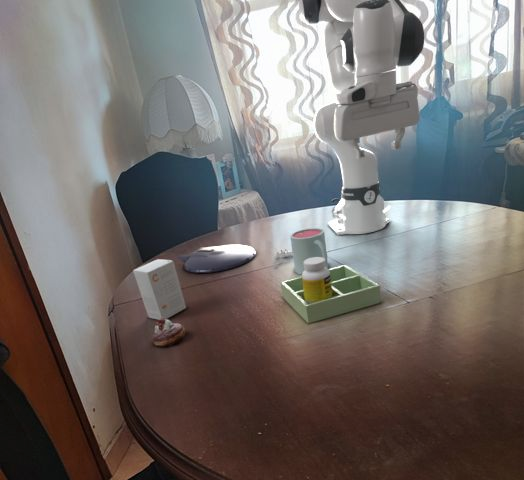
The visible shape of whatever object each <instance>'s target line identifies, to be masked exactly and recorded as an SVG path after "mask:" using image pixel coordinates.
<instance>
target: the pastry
mask: <svg viewBox="0 0 524 480" xmlns="http://www.w3.org/2000/svg"><path fill="white" fill-rule="evenodd" d="M185 335H186V330H185V326H183V325H182V324H180V323H172V321H171V320H170V319H165V318H164V317H162V318H161V319H160V320H157V322H156V323H155V326H154V334H153V335H152V341H153V345H154V346H156V347H170V346H173V345H175V344H177V343H178V342H180V341H182V340H183V338H184V336H185Z"/></svg>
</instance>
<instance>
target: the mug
mask: <svg viewBox="0 0 524 480" xmlns="http://www.w3.org/2000/svg"><path fill="white" fill-rule="evenodd" d="M325 235H326V234H325V229H323V228H320V227H310V228H303V229H300V230H297V231H294V232H292V233H291V234H289V239H290V245H291V251H292V253H293V256H292V260H293V267H294V272H295V274H298V275H302V273H303V272H304V271H305V269H304V263H303V262H304V261H305V260H306V259H309V258H313V257H322V258H324V259H325V263H326V266H325V267H326V268H327V269H329V268H328V267H329V264H328V252H327V244H326V236H325Z"/></svg>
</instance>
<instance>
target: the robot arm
mask: <svg viewBox="0 0 524 480" xmlns="http://www.w3.org/2000/svg"><path fill="white" fill-rule="evenodd" d="M298 9H299V13H300V15H301V17H302V19H303V21H304V22H305V24H307V26H308V25H309V26H318V25H319V24H323V23H326V25H325V27H324V31H323V48H324V57H325V64H326V67H327V74H328V79H329V83H330V86H331V88H332V89H333V90H334V91H335V92H336V93H337V94H336V95H335V101H333V102H330V103H327V104H325V105H323V106H320V107H319V108H318V109H317V110H316V112H315V114H314V117H313V130H314V133H315V136H316V137H317V138H318V139H319V141H320V142H322V143H324V144H326V146H329V148H331V149H332V151H333V152H334V153H335V155H336V157H337V159H338V162H339V165H340V171H341V178H342V187H340V189H341V196H340V198H341V199H340V198H339V197H335V198H333V199H332V200H331V202H332V203H334V202H335V201H338V203H337V205H336V206H334V207H333V208H332V213H331V214H332V218H333V219H332V220H331V221H329V222H328V226H329V227H330V229H332V231H333V232H335V233H336V234H337V235H338V236H339V235H340V236H342V235H363V234H364V235H365V234H370V233H373V232H377V231H380V230H383V229H384V228H386V226H387V224H388V223H390V218H387V217H386V216H387V215H386V212H387V211H389V210H390V209H391V206H390V205H388V206H387V207H386V206H385V199H384V197H383V196H381V195H380V194H381V183H380V181H379V169H378V158H377V155H376V154H375V153H373V152H372V151H370V150H368V149H366V148H362V147H360V146H359V144H360V142H361V138H365V137H370V136H375V135H380V134H382V133H387V132H391V131H394V132H395V134H396V135H395V138H394V141H391V150H392V151H397V150H401V148H402V140H403V138H404V136H405V134H406V128H408V127H413V126H416V125H417V124H418V123H419V121H420V109H419V100H418V95H419V93H418V92H419V91H418V90H419V89H418V85H416V83H414V82H412V81H409V80H408V81H406V82H400V83H397V67H398V68H399V67H409V66H411V65H412V64H413V63H415V61H416V60H417V59H418V57H420V55H421V53H422V52H423V50H424V46H425V29H424V25H423V23H422V21H421V19H420V18H419V17H418V16H417V15H416V14H415V13H413V12H411V11H409V10H408V9H407V7H406V6H405V5H404V4H403V3H402V2H401V0H298Z"/></svg>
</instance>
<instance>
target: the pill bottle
mask: <svg viewBox="0 0 524 480" xmlns="http://www.w3.org/2000/svg"><path fill="white" fill-rule="evenodd" d="M303 263H304V269H305V271H304V272H303V273H302V274H301V277H302V282H303V289H304V297H305V302H306V303H307V304H311V303H315V302H318V301H322V300H325V299H329V298H332V287H331V277H330V271H329V269H330V268H326V267H325V266H326V263H325V259H324V258H322V257H313V258H309V259H306V260H305V261H304V262H303Z"/></svg>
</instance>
